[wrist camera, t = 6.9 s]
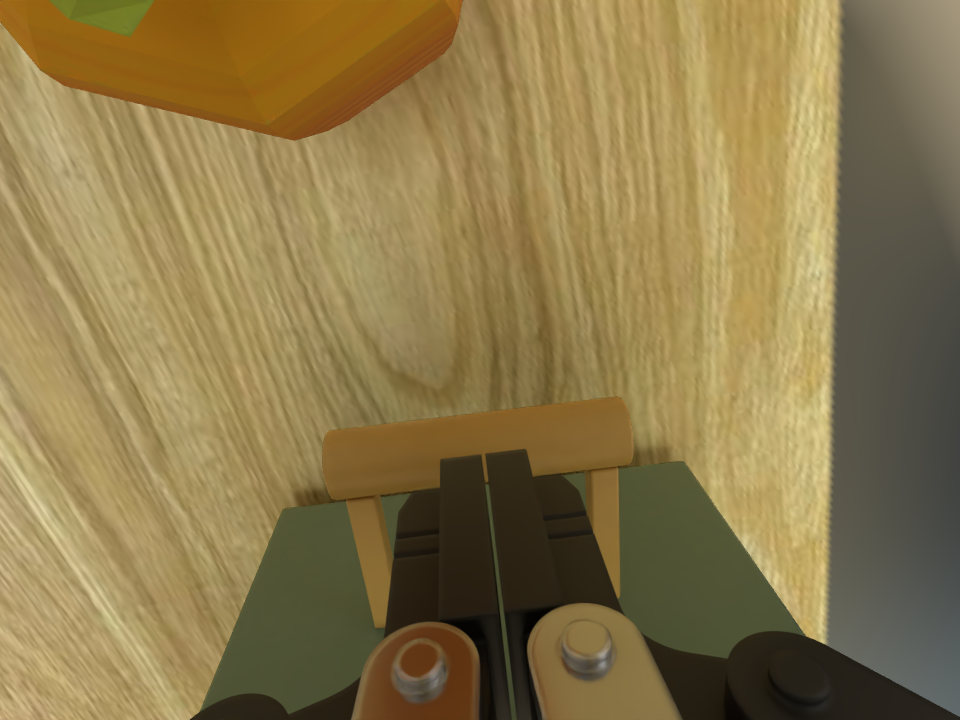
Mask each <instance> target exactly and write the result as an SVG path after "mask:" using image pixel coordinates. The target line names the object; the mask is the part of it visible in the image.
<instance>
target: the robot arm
mask: <svg viewBox="0 0 960 720" xmlns="http://www.w3.org/2000/svg"><path fill="white" fill-rule="evenodd" d="M485 457H486V465H487V474H488V482H489V491H490V499H491V508H492V516H493V525H494V533H495V542H496V550H497V558H498V567H499V575H500V583H501V592H502V600H503V608H504V617H505V625H506V634H507V642H508V650H509V659H510V667H511V675H512V684H513V692H514V700H515V709H516V717H517V720H960V717H959V716H957V715H955V714H953V713H951V712H949V711H947V710H946V709H944V708H942V707H940V706H938V705H936V704H934V703H932V702H931V701H929V700H927V699H925V698H923V697H921V696H919V695H918V694H916V693H914V692H912V691H910V690H908V689H906V688H905V687H903V686H901V685H899V684H897V683H895V682H893V681H892V680H890V679H888V678H886V677H884V676H882V675H880V674H879V673H877V672H875V671H873V670H871V669H869V668H867V667H865V666H864V665H861V664H860V663H858V662H856V661H854V660H852V659H851V658H849V657H847V656H845V655H843V654H841V653H839V652H837V651H836V650H833V649H832V648H830V647H828V646H826V645H825V644H822V643H820V642H818V641H816V640H814V639H811V638H809V637H806V636H803V635H799V634H795V633H791V632H783V631H765V632H759V633H755V634H752V635H749V636H747V637H745V638H744V639H742V640H740V641H739V642H738V643H737V644H736V645H735V646H734V647H733V649H732V650H731V652H730V654H729V657H728V659H727V658H721V657H715V656H708V655H702V654H696V653H690V652H685V651H680V650H676V649H673V648H670V647H667V646H664V645H662V644H660V643H658V642H656V641H653V640H652V639H650V638H649V637H647V636H645V635H644V634H643V633H641V632H640V630H639V629H638V628H637V627H636V626H635V624H634V623H633V622H632V621H630V620H629V619H628V618H627V617H626V616H625V614H624V613H623V611H622V609H621V606H620V604H619V601H618V599H617V596H616V593H615V590H614V587H613V585H612V582H611V579H610V576H609V573H608V571H607V568H606V565H605V562H604V559H603V556H602V554H601V551H600V548H599V545H598V542H597V540H596V537H595V534H593V528H592V526H591V523H590V520H589V517H588V516H587V512H586V509H585V506H584V503H583V500H582V498H581V495H580V492H579V490H578V489H577V488H576V487H575V486H574V485H572V484H571V483H570V482H569V481H568V480H567V479H566V478H565V477H564V476H562V475H561V474H553V475H545V476H536V477H533V474H532V470H531V466H530V462H529V458H528V454H527V450H526V449H518V450H509V451H501V452H493V453H485ZM190 720H512V715H511V707H510V698H509V689H508V680H507V671H506V662H505V653H504V644H503V635H502V626H501V617H500V608H499V599H498V590H497V581H496V572H495V563H494V555H493V546H492V537H491V529H490V521H489V512H488V504H487V496H486V488H485V479H484V471H483V463H482V455H481V454H477V455H469V456H461V457H453V458H444V459H440V488H438V489H430V490H422V491H413V492H412V493H411V495H410V496H409V498H408V499H407V501H406V502H405V503H404V505H403V506H402V508H401V509H400V511H399V512H398V520H397V528H396V539H395V546H394V559H393V563H392V572H391V581H390V590H389V598H388V607H387V616H386V625H385V633H384V638H383V640H382V641H381V642H380V643H379V644H378V645H377V646H376V647H375V648H374V650H373V651H372V653H371V654H370V655H369V657H368V659H367V661H366V663H365V665H364V668H363V671H362V675H361V676H360V677H359V678H358V679H357V680H356V681H354V682H353V683H352V684H351V685H349V686H348V687H346V688H345V689H343V690H342V691H340V692H338V693H336V694H334V695H332V696H330V697H328V698H325V699H323V700H321V701H318V702H316V703H314V704H311V705H309V706H307V707H304V708H302V709H300V710H297V711H295V712H293V713H290V714H288V713H287V711H286V710H285V708H284V706H283V705H282V704H281V703H279V702H278V701H277V700H275V699H274V698H272V697H270V696H267V695H263V694H255V693H249V694H240V695H236V696H231V697H228V698H226V699H223V700H220V701H218V702H216V703H214V704H212V705H210V706H208V707H207V708H205V709H204V710H202V711H201V712H199V713H198V714H196V715H195V716H194V717H193V718H191V719H190Z"/></svg>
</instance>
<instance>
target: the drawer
mask: <svg viewBox="0 0 960 720" xmlns="http://www.w3.org/2000/svg"><path fill="white" fill-rule="evenodd" d="M518 449H526V450H527V454H528V458H529V462H530V466H531V470H532V474H533V476H541V475H550V474H558V473H566V472H575V471H583V470H585V473H577V474H569V475H562V476H564V477H565V478H566V479H567V480H568V481H569V482H570V483H571V484H572V485H574V486H575V487H576V488H577V489H578V490H579V492H580V495H581V498H582V500H583V503H584V506H585V509H586V512H587V516H588V517H589V520H590V523H591V526H592V528H593V534H595V537H596V540H597V542H598V545H599V548H600V551H601V554H602V556H603V559H604V562H605V565H606V568H607V571H608V573H609V576H610V579H611V582H612V585H613V587H614V590H615V593H616V596H617V599H618V601H619V604H620V606H621V609H622V611H623V613H624V614H625V616H626V617H627V618H628V619H629V620H630V621H632V622H633V623H634V624H635V626H636V627H637V628H638V629H639V630H640V632H641V633H643V634H644V635H645V636H647V637H649V638H650V639H652V640H653V641H656V642H658V643H660V644H662V645H664V646H667V647H670V648H673V649H676V650H680V651H685V652H690V653H696V654H702V655H708V656H715V657H721V658H727V659H728V657H729V654H730V652H731V650H732V649H733V647H734V646H735V645H736V644H737V643H738V642H739V641H740V640H742V639H744V638H745V637H747V636H749V635H752V634H755V633H759V632H765V631H783V632H791V633H795V634H799V635H803V636H805V634H804V633H803V632H802V630H801V629H800V627H799V626H798V624H797V623H796V621H795V620H794V619H793V617H792V616H791V614H790V613H789V611H788V610H787V608H786V607H785V606H784V604H783V603H782V601H781V600H780V598H779V597H778V596H777V594H776V593H775V591H774V590H773V588H772V587H771V585H770V584H769V583H768V581H767V580H766V578H765V577H764V575H763V574H762V573H761V571H760V570H759V568H758V567H757V565H756V564H755V562H754V561H753V560H752V558H751V557H750V555H749V554H748V552H747V551H746V550H745V548H744V547H743V545H742V544H741V542H740V541H739V539H738V538H737V537H736V535H735V534H734V532H733V531H732V529H731V528H730V526H729V525H728V524H727V522H726V521H725V519H724V518H723V516H722V515H721V514H720V512H719V511H718V509H717V508H716V506H715V505H714V503H713V502H712V501H711V499H710V498H709V496H708V495H707V493H706V492H705V491H704V489H703V488H702V486H701V485H700V483H699V482H698V480H697V479H696V478H695V476H694V475H693V473H692V472H691V470H690V469H689V467H688V466H687V465H686V463H685V462H684V461H677V462H669V463H660V464H652V465H644V466H635V467H627V468H619V469H618V468H617V466H625V465H629V464H630V463H631V462H632V459H633V453H634V439H633V430H632V424H631V420H630V416H629V412H628V409H627V407H626V405H625V403H624V401H623V399H622V398H620V397H617V396H616V397H607V398H599V399H590V400H582V401H574V402H565V403H557V404H548V405H540V406H531V407H523V408H515V409H506V410H498V411H489V412H481V413H472V414H464V415H456V416H447V417H439V418H430V419H422V420H413V421H405V422H396V423H388V424H380V425H371V426H363V427H354V428H346V429H337V430H330V431H328V432H327V433H326V435H325V438H324V442H323V450H322V464H323V474H324V480H325V484H326V488H327V490H328V493H329V495H330V497H331V498H332V499H334V500H341V499H347V500H346V501H344V502H336V503H327V504H319V505H311V506H302V507H294V508H286V509H283V510H282V512H281V515H280V517H279V520H278V522H277V525H276V527H275V530H274V532H273V534H272V537H271V539H270V542H269V544H268V547H267V549H266V552H265V554H264V556H263V559H262V561H261V564H260V566H259V569H258V571H257V573H256V576H255V578H254V581H253V583H252V586H251V588H250V591H249V593H248V595H247V598H246V600H245V603H244V605H243V608H242V610H241V612H240V615H239V617H238V620H237V622H236V625H235V627H234V630H233V632H232V634H231V637H230V639H229V642H228V644H227V647H226V649H225V652H224V654H223V656H222V659H221V661H220V664H219V666H218V669H217V671H216V673H215V676H214V678H213V681H212V683H211V686H210V688H209V691H208V693H207V695H206V698H205V700H204V703H203V705H202V708H201V710H200V712H201V711H202V710H204V709H205V708H207V707H208V706H210V705H212V704H214V703H216V702H218V701H220V700H223V699H226V698H228V697H231V696H236V695H240V694H249V693H255V694H263V695H267V696H270V697H272V698H274V699H275V700H277V701H278V702H279V703H281V704H282V705H283V706H284V708H285V710H286V711H287V713H288V714H290V713H293V712H295V711H297V710H300V709H302V708H304V707H307V706H309V705H311V704H314V703H316V702H318V701H321V700H323V699H325V698H328V697H330V696H332V695H334V694H336V693H338V692H340V691H342V690H343V689H345V688H346V687H348V686H349V685H351V684H352V683H353V682H354V681H356V680H357V679H358V678H359V677H360V676H361V675H362V671H363V668H364V665H365V663H366V661H367V659H368V657H369V655H370V654H371V653H372V651H373V650H374V648H375V647H376V646H377V645H378V644H379V643H380V642H381V641H382V640H383V638H384V633H385V625H386V616H387V607H388V598H389V590H390V581H391V572H392V563H393V559H394V546H395V539H396V528H397V520H398V512H399V511H400V509H401V508H402V506H403V505H404V503H405V502H406V501H407V499H408V498H409V496H410V495H411V493H410V494H402V495H394V496H385V497H380V495H383V494H391V493H400V492H408V491H416V490H425V489H433V488H440V459H444V458H453V457H461V456H469V455H477V454H481V455H482V463H483V471H484V479H485V482H488V474H487V465H486V457H485V453H493V452H501V451H509V450H518ZM485 488H486V496H487V504H488V512H489V521H490V529H491V537H492V546H493V555H494V563H495V572H496V581H497V590H498V599H499V608H500V617H501V626H502V635H503V644H504V653H505V662H506V671H507V680H508V689H509V698H510V707H511V715H512V720H517V717H516V709H515V700H514V692H513V684H512V675H511V667H510V659H509V650H508V642H507V634H506V625H505V617H504V608H503V600H502V592H501V583H500V575H499V567H498V558H497V550H496V542H495V533H494V525H493V516H492V508H491V499H490V491H489V484H485Z"/></svg>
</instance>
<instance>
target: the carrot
mask: <svg viewBox="0 0 960 720" xmlns="http://www.w3.org/2000/svg"><path fill="white" fill-rule="evenodd" d="M462 1H463V0H0V22H1V23H2V24H3V26H4V27H5V28H6V29H7V31H8V32H9V33H10V34H11V35H12V37H13V38H14V39H15V40H16V41H17V43H18V44H19V45H20V46H21V47H22V49H23V50H24V51H25V52H26V53H27V55H28V56H29V57H30V58H31V59H32V61H33V62H34V63H35V64H36V65H37V67H38V68H39V69H40V70H41V71H42V72H44V73H45V74H47V75H48V76H50V77H51V78H53V79H55V80H56V81H58V82H59V83H61V84H62V85H64V86H67V87H71V88H75V89H80V90H84V91H88V92H92V93H96V94H100V95H105V96H109V97H113V98H117V99H121V100H126V101H130V102H134V103H138V104H142V105H147V106H151V107H155V108H159V109H163V110H168V111H172V112H176V113H180V114H184V115H189V116H193V117H197V118H201V119H205V120H210V121H214V122H218V123H222V124H226V125H231V126H235V127H239V128H243V129H247V130H251V131H256V132H260V133H264V134H268V135H272V136H277V137H281V138H285V139H289V140H293V141H295V140H298V139H301V138H305V137H308V136H312V135H315V134H318V133H322V132H325V131H328V130H330V129H332V128H334V127H336V126H338V125H340V124H342V123H344V122H346V121H348V120H350V119H351V118H352V117H354V116H355V115H357V114H358V113H360V112H361V111H362V110H364V109H365V108H367V107H368V106H370V105H371V104H372V103H374V102H375V101H377V100H378V99H380V98H381V97H382V96H384V95H385V94H387V93H388V92H390V91H391V90H392V89H394V88H395V87H397V86H398V85H400V84H401V83H402V82H404V81H405V80H407V79H408V78H410V77H411V76H412V75H414V74H415V73H417V72H418V71H420V70H421V69H423V68H424V67H425V66H427V65H428V64H430V63H431V62H433V61H434V60H435V59H437V58H438V57H440V56H441V55H443V54H444V53H445V52H446V50H447V49H448V48H449V47H450V45H451V44H452V41H453V38H454V35H455V32H456V29H457V26H458V22H459V17H460V12H461V7H462Z"/></svg>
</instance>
